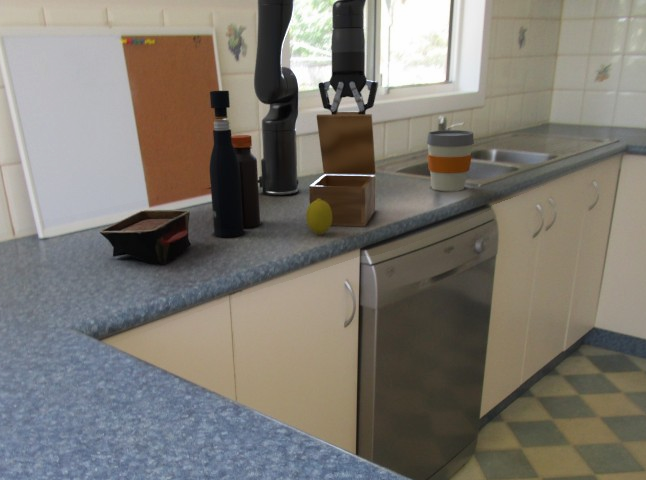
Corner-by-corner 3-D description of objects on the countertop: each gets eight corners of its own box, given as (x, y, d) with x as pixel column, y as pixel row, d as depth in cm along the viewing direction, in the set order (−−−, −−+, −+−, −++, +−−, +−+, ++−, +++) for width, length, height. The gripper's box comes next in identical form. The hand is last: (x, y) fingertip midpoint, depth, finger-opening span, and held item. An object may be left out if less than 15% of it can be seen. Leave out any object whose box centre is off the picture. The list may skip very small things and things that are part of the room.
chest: (364, 226, 148) (364, 187, 145) (310, 224, 151) (309, 186, 148) (374, 211, 162) (375, 175, 158) (324, 209, 165) (323, 174, 161)
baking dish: (98, 271, 130) (89, 224, 124) (148, 234, 144) (141, 191, 139) (162, 283, 125) (155, 235, 120) (207, 244, 139) (202, 200, 134)
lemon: (322, 240, 139) (321, 202, 136) (301, 236, 142) (300, 199, 139) (337, 234, 143) (337, 197, 140) (316, 230, 146) (316, 194, 143)
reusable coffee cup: (452, 194, 177) (455, 137, 172) (415, 188, 186) (417, 133, 181) (480, 187, 185) (483, 132, 179) (443, 181, 194) (446, 129, 188)
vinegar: (235, 221, 156) (230, 134, 149) (263, 221, 155) (259, 134, 148) (226, 228, 150) (220, 138, 143) (255, 229, 149) (250, 138, 142)
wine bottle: (249, 231, 147) (240, 90, 136) (234, 238, 142) (224, 92, 131) (224, 229, 150) (214, 90, 139) (208, 236, 144) (197, 92, 134)
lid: (371, 115, 147) (374, 104, 151) (316, 116, 150) (320, 104, 154) (375, 174, 158) (378, 162, 162) (323, 173, 161) (327, 161, 165)
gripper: (382, 49, 151) (381, 126, 157) (321, 51, 155) (322, 126, 160) (377, 49, 144) (376, 129, 150) (313, 51, 148) (314, 129, 153)
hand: (348, 127), depth 155 cm, fingers closed on lid, 5 cm apart
